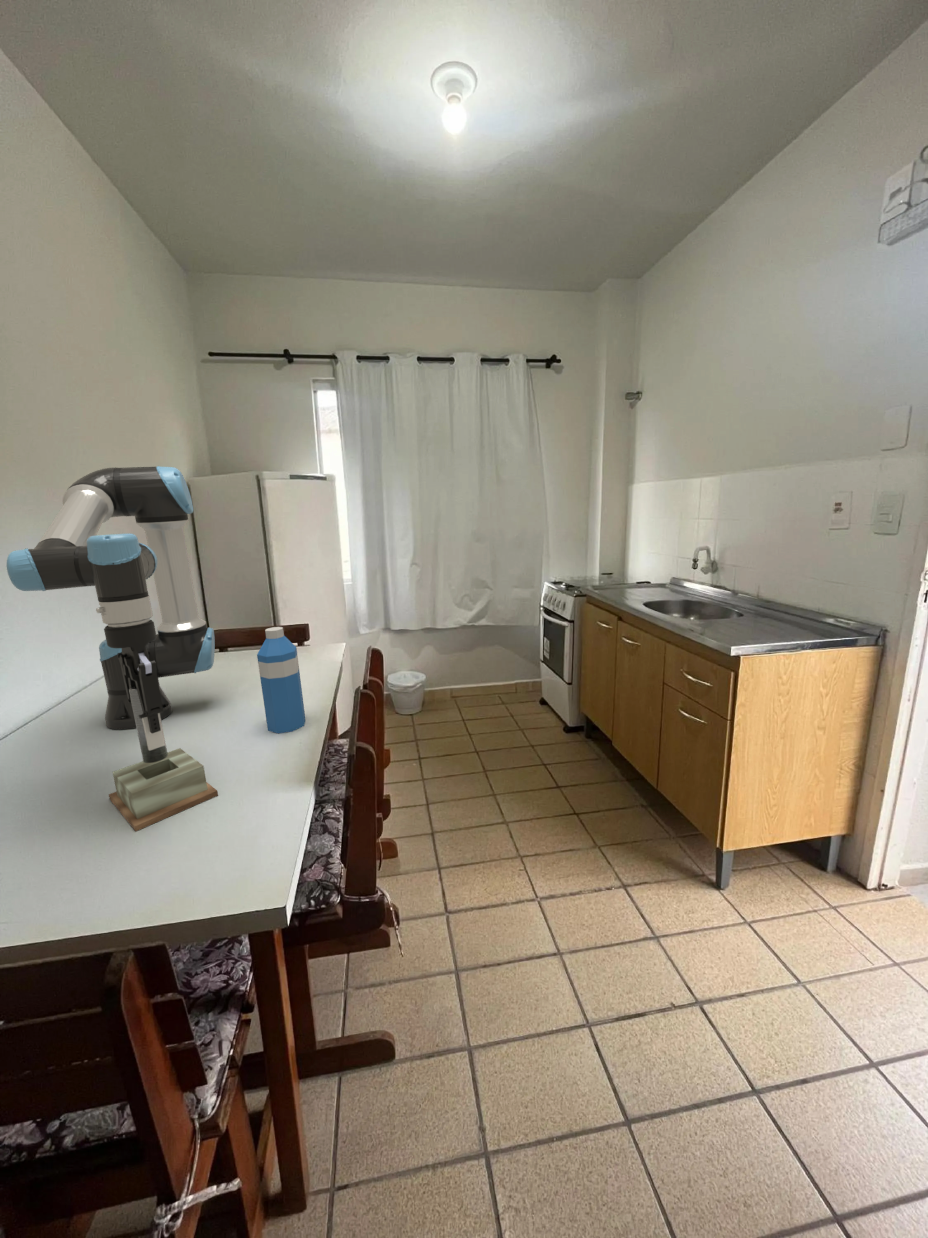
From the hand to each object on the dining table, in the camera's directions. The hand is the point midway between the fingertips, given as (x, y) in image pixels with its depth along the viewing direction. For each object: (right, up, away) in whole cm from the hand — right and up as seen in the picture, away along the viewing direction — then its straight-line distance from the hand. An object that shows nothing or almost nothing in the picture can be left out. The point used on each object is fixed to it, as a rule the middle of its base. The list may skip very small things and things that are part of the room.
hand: (152, 743), depth 96 cm
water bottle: (+14, -4, +33) cm, 36 cm away
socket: (+1, -11, +3) cm, 11 cm away
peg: (0, -3, +1) cm, 3 cm away
